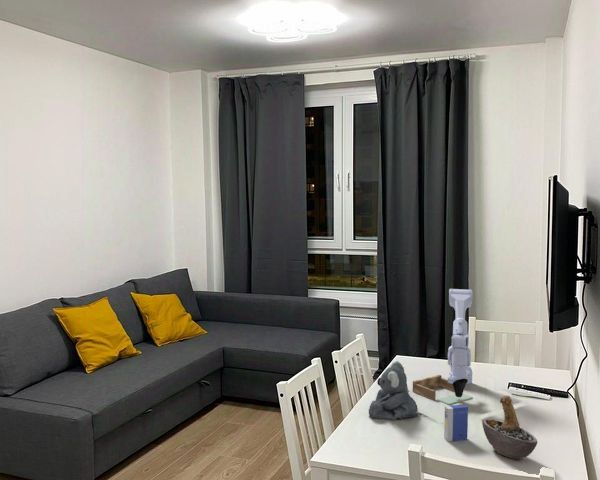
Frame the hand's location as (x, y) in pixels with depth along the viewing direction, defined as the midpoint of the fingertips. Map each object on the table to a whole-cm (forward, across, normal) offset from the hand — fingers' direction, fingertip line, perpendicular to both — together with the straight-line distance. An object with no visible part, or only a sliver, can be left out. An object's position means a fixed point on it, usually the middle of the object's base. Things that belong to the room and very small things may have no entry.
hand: (458, 396), depth 242 cm
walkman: (+3, +31, +17) cm, 36 cm away
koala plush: (+3, +27, -12) cm, 30 cm away
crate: (+3, -2, -12) cm, 13 cm away
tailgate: (+2, -1, -5) cm, 6 cm away
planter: (+3, +30, +36) cm, 47 cm away
